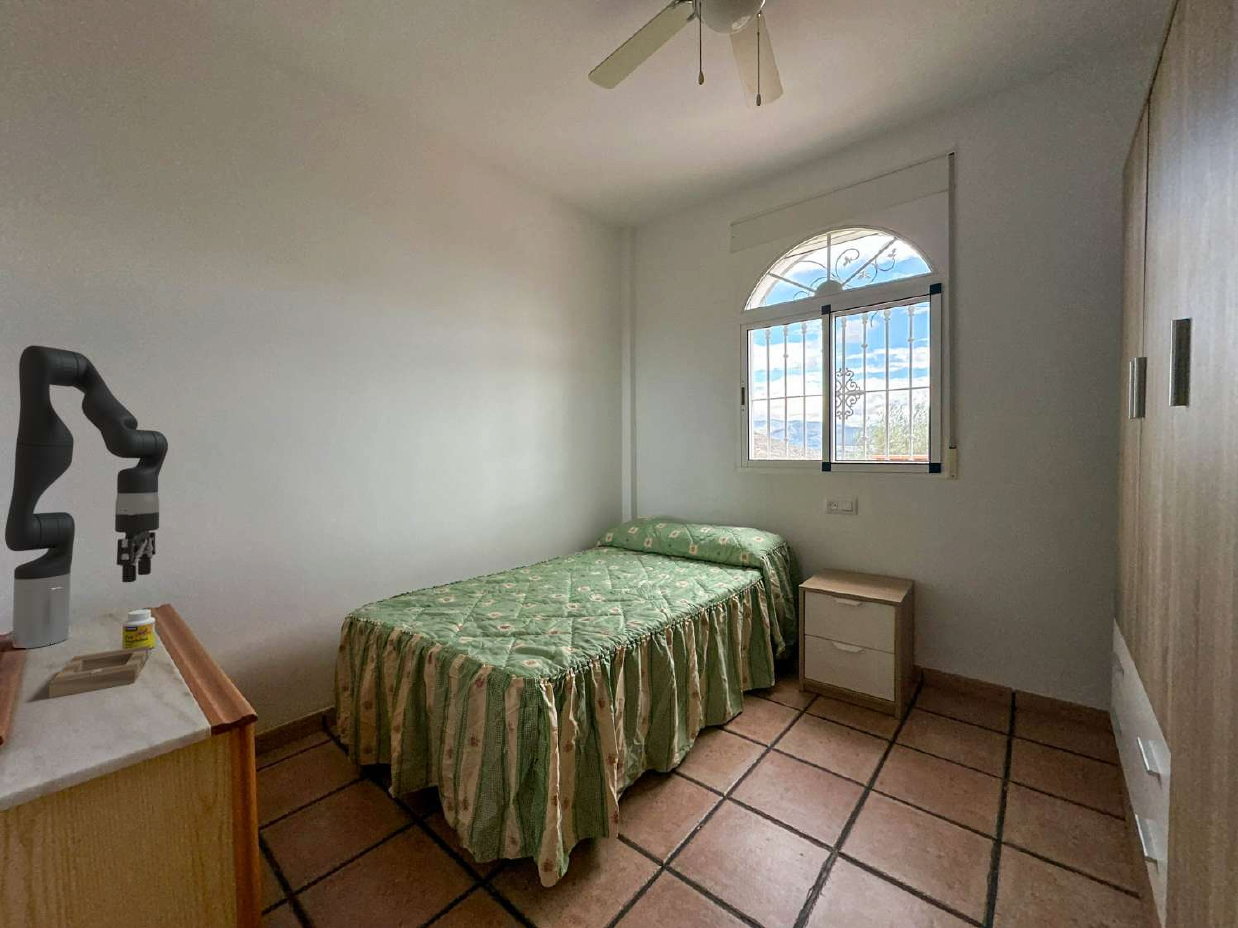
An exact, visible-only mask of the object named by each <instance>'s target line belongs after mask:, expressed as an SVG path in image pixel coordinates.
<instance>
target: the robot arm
mask: <svg viewBox="0 0 1238 928" xmlns="http://www.w3.org/2000/svg"><path fill="white" fill-rule="evenodd" d="M18 377H19V379H18V380H19V381H18V383H19V401H20V403H19V417H18V419H19V420H18V429H17V435H16V436H17V437H16V442H15V453H14V454H15V455H14V477H13V487H12V493H11V499H10V503H9V509H8V513H7V519H6V524H5V529H4V539H5V544H6V547H7V549H8V550H10V551H13V552H25V551H26V552H27V551H36V550H37V551H38V550H46V549H47V551H46V552H45V553H44V554H42V555H41V556H40V557H37V558H36V559H33V560H30V561H28V562H25V563H22V564H19V565H17V566H16V567H15V568H14V572H13V599H12V600H13V607H12V608H13V610H12V633H11V634H12V635H11V636H12V637H11V638H12V640H11V644H12V643H14V644H19V645H23V646H24V647H26V649H34V648H40V647H46V646H50V644H51V645H55V644H58V643H61V642H64V641H66V640H68V639H69V631H70V630H69V629H70V627H69V626H70V605H71V604H70V603H71V602H70V601H71V600H70V599H71V567H72V562H73V553H74V552H73V551H74V540H75V536H76V535H75V534H76V533H75V531H76V526H75V525H76V524H75V523H76V522H75V520H74V517H73V515H72V514H71V513H68V512H65V511H64V512H63V511H62V512H61V511H57V512H54V511H53V512H39V513H34V512H35V509H36V506H37V504H38V502H39V500H40V498H41V496H42V495H43V494H44V493H45V492H46V490H48V488H50V486H51V485H52V484H54V483H55V482H56V481H57V480H58V479H59V478H61V476H63V474H64V473H66V472H67V470H68V469H69V468H70V467H71V464H72V461H73V454H74V445H75V444H74V443H75V442H74V441H75V440H74V437H73V434H72V432H71V430H70V429H69V428H68V426H67V425H66V424H65V422H64V421H63V420H62V419H61V417H60V416H59V414H58V413H57V412H56V411H55V409H54V407H53V404H52V401H51V393H50V386H58V387H59V386H60V387H66V388H67V387H69V388H70V387H72V388H73V387H74V388H75V389H77V390H78V391H80V392H81V393H83V394H84V396H83V397H82V398H83V399H82V400H81V401H82V402H81V410H82V413H83V414H84V416H85V418H87V420H88V421H89V422H91V424H92V425H93V426H95V428H97V429H98V431H99V432H100V435H101V437H102V440H103V441H104V445H105V448H106V449H107V451H108V452H109V453H110V454H112V455H113V456H115V457H118V458H122V459H139V460H138V462H137V464H136V465H135V466H134V467H130V468H129V467H128V468H124V469H121V470H120V471H119V472H118V473H117V478H116V483H117V484H116V486H117V487H116V492H117V493H116V499H115V505H114V506H115V507H114V509H115V513H114V514H115V515H114V518H115V519H114V522H115V525H114V530H115V532H116V533H125V537H124V538H119V539H118V540H117V545H116V546H117V550H116V565H117V566H120V567H122V570H121V571H122V574H121V575H122V578H121V579H122V580H121V582H122V583H133V582H135V581H136V580H137V574H138V575H139V576H147V575H150V574H151V573H152V559H153V557H154V556H155V555H156V553H157V552H156V532H155V531H157V530H158V529H159V528H160V498H159V476H160V472H161V470H162V467H163V464H164V461H165V459H166V456H167V454H168V451H169V443H168V439H167V438H166V436H165V435H164V434H163V433H162V432H160V431H157V430H151V429H150V430H147V429H138V426H139V422H138V420H137V418H136V416H134V415H133V414H132V412H130V410H129V409H127V408H126V407H125V406H124V405H123V404H122V403H121V402H120V401H119V400H118V399H117V398H116V397H115V396H114V394H113V393H112V391H111V390H110V389H109V387H108V386H107V384H106V382H105V380H104V379H103V378H102V375H101V374H100V373H99V371H98V370H97V368H96V367H95V365H94V364H93V362H92V361H91V360H90V359H89V358H88V357H87V356H86V355H84V354H82V353H81V352H77V351H72V350H66V349H62V348H55V347H48V346H43V345H35V344H34V345H29V346H27V347H25V348H24V349H23V350H22V353H21V355H20V358H19V364H18ZM67 638H68V639H67ZM65 639H66V640H65ZM63 640H64V641H63ZM54 643H55V644H54Z"/></svg>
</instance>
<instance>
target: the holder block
mask: <svg viewBox="0 0 1238 928" xmlns="http://www.w3.org/2000/svg"><path fill="white" fill-rule="evenodd" d="M149 657H150V653H149V645H147V646H141V647H134V648H127V649H115V650H108V651H103V652H95V653H87V654H83V655H82V654H81V655H76V656H74V657H73V658H71V660H70V661H69V662H68V663H67V664H66V665H65V667H63V668H62V669H61V671H60V672H58V673H57V674H56V675H55V677H53V678H52V680H51V681H50V682H49V686H48V687H49V688H48V689H49V690H48V691H49V692H48V699H53V698H59V697H64V696H70V695H76V694H80V693H87V692H92V691H97V690H104V689H109V688H113V687H119V686H120V687H121V686H125V685H130V684H135V682H136V681H137V680H138V677H140V674H141V672H142V670H143V668H144V667H145V665H146V663H147V661H148V660H149Z"/></svg>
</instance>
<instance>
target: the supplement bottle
mask: <svg viewBox="0 0 1238 928" xmlns="http://www.w3.org/2000/svg"><path fill="white" fill-rule="evenodd" d="M155 629H156V618H155V617H154V616H153V617H152V611H151V609H138V610H137V609H136V610H134V611H130V612H128V614H127V620H125V621H124V622H123V624H122V647H121V648H122V649H127V648H134V647H141V646H147V645H149V654H150V653H152V652H153V651H154V649H155V637H156V636H155Z"/></svg>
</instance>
